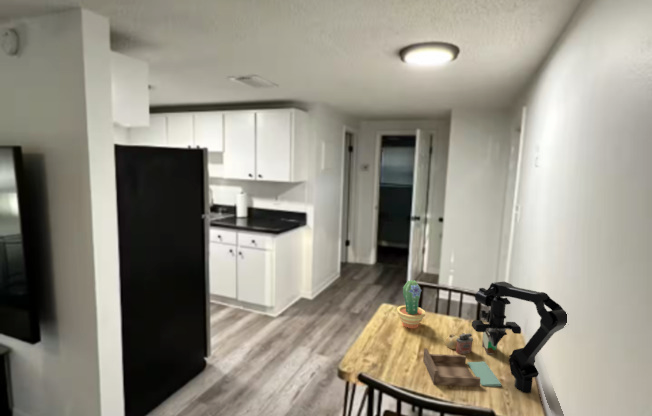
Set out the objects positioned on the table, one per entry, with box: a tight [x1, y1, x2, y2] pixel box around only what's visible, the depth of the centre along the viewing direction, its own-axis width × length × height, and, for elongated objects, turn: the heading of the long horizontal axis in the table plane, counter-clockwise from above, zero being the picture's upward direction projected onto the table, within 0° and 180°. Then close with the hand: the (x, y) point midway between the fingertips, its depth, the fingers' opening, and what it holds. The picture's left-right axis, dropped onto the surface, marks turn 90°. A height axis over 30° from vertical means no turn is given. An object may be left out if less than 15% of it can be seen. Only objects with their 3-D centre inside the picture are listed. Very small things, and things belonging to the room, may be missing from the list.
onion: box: [444, 333, 460, 351], centre depth 173 cm, size 8×8×7 cm
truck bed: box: [423, 347, 481, 388], centre depth 150 cm, size 18×17×7 cm
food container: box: [481, 330, 498, 355], centre depth 170 cm, size 12×6×10 cm, turn 168°
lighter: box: [455, 332, 474, 355], centre depth 167 cm, size 8×3×10 cm, turn 105°
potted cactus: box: [396, 279, 426, 329], centre depth 196 cm, size 15×15×25 cm
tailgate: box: [466, 361, 502, 387], centre depth 150 cm, size 1×16×8 cm
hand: (494, 345), depth 154 cm, fingers closed
